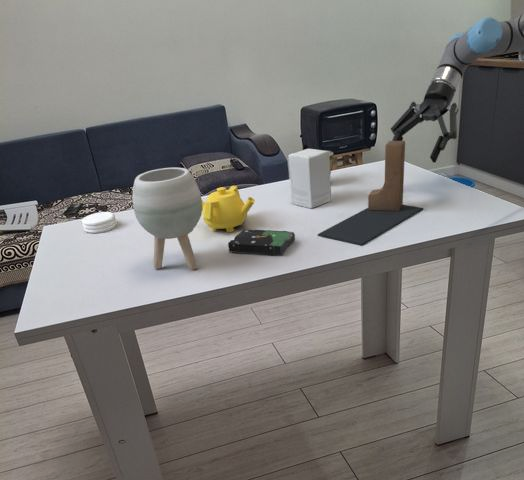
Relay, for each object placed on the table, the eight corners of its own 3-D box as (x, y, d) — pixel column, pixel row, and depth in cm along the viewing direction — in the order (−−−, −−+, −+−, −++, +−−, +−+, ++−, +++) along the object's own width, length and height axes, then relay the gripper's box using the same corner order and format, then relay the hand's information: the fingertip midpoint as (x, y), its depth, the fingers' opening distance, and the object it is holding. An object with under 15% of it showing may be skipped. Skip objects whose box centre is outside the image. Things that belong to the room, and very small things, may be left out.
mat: (423, 209, 151) (423, 207, 151) (361, 245, 134) (361, 243, 133) (380, 202, 159) (380, 200, 159) (317, 235, 142) (317, 234, 142)
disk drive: (228, 253, 138) (282, 256, 133) (227, 243, 137) (281, 245, 132) (244, 238, 146) (295, 240, 141) (243, 228, 145) (294, 230, 139)
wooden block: (367, 210, 153) (368, 144, 144) (371, 205, 157) (372, 140, 147) (399, 211, 150) (402, 144, 140) (402, 206, 153) (405, 140, 144)
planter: (194, 246, 145) (179, 161, 133) (222, 264, 133) (208, 172, 121) (138, 264, 138) (117, 176, 126) (163, 284, 126) (142, 189, 114)
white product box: (332, 201, 165) (330, 150, 157) (311, 209, 161) (308, 157, 153) (311, 196, 171) (309, 147, 163) (291, 204, 167) (287, 154, 159)
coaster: (100, 220, 172) (97, 210, 170) (123, 223, 167) (121, 212, 165) (77, 232, 165) (74, 221, 163) (101, 235, 160) (97, 223, 158)
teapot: (181, 235, 153) (173, 196, 147) (212, 214, 166) (206, 177, 160) (243, 240, 145) (237, 199, 139) (270, 217, 158) (267, 179, 152)
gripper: (487, 98, 147) (456, 169, 146) (408, 97, 162) (379, 161, 162) (481, 80, 141) (448, 153, 141) (399, 80, 156) (369, 146, 156)
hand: (411, 157), depth 151 cm, fingers open, 12 cm apart
